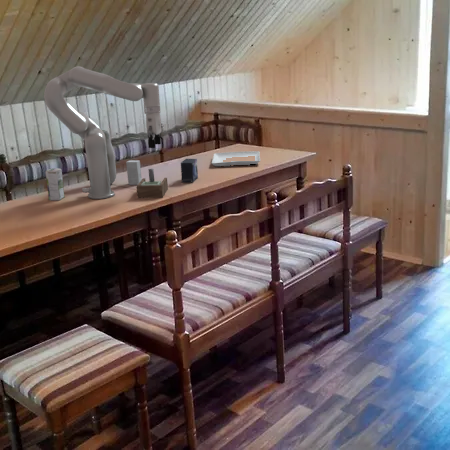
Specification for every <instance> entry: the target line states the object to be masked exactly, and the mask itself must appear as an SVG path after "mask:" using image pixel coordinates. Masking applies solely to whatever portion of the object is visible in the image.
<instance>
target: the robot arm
mask: <svg viewBox="0 0 450 450" xmlns="http://www.w3.org/2000/svg"><path fill="white" fill-rule="evenodd" d="M78 87H80V88H84V89H86V90H90V91H91V90H92V91H95V92H99V93H102V94H105V95H109V96H113V97H116V98H119V99H123V100H127V101H130V102H138V101H141V99H143V101H142V102H143V113H144V115H145V119H146V120H145V122H146V123H145V124H146V125H145V127H146V134H147V145H148V146H147V147H148V148H149V149H156V145H161V144H162V143H161V142H162V141H161V133H162V131H163V129H162V121H161V115H160V114H161V102H160V88H159V84H158V83H156V82H146V83H136V82H135V83H134V82H133V83H131V82H130V83H129V82H127V81H123V80H119V79H117V78H114V77H112V76H111V75H109V74H106V73H103V72H98V71H94V70H91V69H88V68H85V67H84V66H80V65H79V66H78V65H77V66H74V67H72V68H71V69H69V70H67V71H65V72H63V73H62V74H60V75H58V76H56V77H53V78H52V79H51V80H49V81H48V82H47V83H46V85H45V89H44V93H43V97H44V98H43V99H44V102H45V105H46V107H47V108H48V110H49V111H50V112H51V113H52V114H53V116H54V117H56V118H57V119H58V120H59V121H60V122H61V123H62V124H63V125H64V126H65V127H66V128H67V129H68V130H69V131H70V132H71V133H73V134H74V135H77V136H79V137H80V138H81V139H82V140H83V141H84V148H85V156H86V162H87V170H88V179H89V186H90V187H82V188H81V190H82V192H83V193H84V194H86V193H88V194H87V197H88V199H92V200H100V199H108V198H111V197H114V196H115V191H113V190H112V187H111V184H110V177H109V168H108V159H107V150H106V137H105V134H104V132H103V131H102V130H103V129H101V128H100V127H99V126H98V125H97V124H96V123H95V121H93V120H92V119H91V118H90V117H89V116H88V115H86V113H84V112H81V111H78V110H76V108H74V107H73V106H72V105H71V104H70V103H69V101H67V100H66V99H65V97H64V96H65V94H67V93H69V92H71V91H73V90H75V89H76V88H78Z"/></svg>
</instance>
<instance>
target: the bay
mask: <svg viewBox="0 0 450 450" xmlns="http://www.w3.org/2000/svg"><path fill="white" fill-rule="evenodd" d="M143 182H147V181H146V178H142V180H141V181H140V183H139V184H138V185H135V187H136V196H137V197H136V198H137V199H160V198H161V199H163V198H164V196H165V195H166V193H167V191H168V190H169V185H168V177H164V178H163V179H162V180H161V184H160V185H149V186H141V184H142V183H143Z"/></svg>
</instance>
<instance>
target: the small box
mask: <svg viewBox="0 0 450 450" xmlns="http://www.w3.org/2000/svg"><path fill="white" fill-rule="evenodd" d="M198 170H199V169H198V158H185V159H183V160H182V161H181V162H180V173H181V175H180V176H181V183H187V184H188V183H194V182H195V181H197V179H198V178H199V175H198Z"/></svg>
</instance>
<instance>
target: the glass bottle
mask: <svg viewBox="0 0 450 450" xmlns="http://www.w3.org/2000/svg"><path fill="white" fill-rule="evenodd" d="M101 130H102V131H103V132H104V134H105V137H106V150H107V159H108V168H109V177H110V185H111V184H113V183H114V182H115V181H116V179H117V167H116V156H115V150H114V147H113V144H112V140H111V136H110V133H109V132H108V130H106V129H101Z"/></svg>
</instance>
